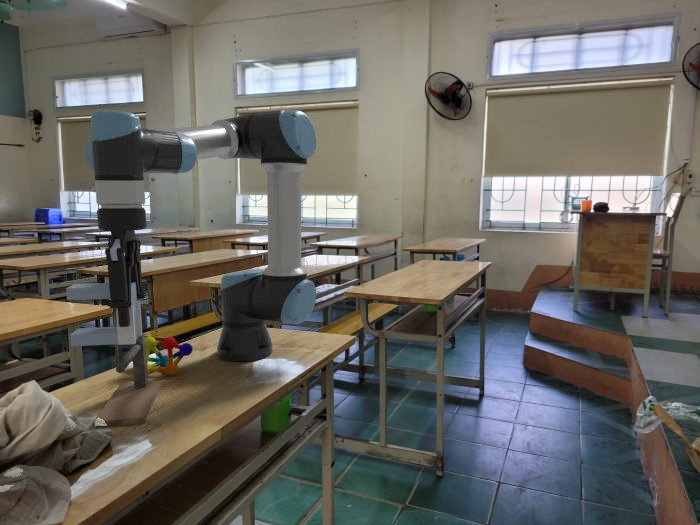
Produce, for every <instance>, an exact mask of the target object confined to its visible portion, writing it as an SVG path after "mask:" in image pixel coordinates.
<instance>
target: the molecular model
mask: <svg viewBox="0 0 700 525" xmlns="http://www.w3.org/2000/svg"><path fill="white" fill-rule="evenodd" d="M145 343H146V358H147V373H148V375H150V374H151V372H164V373H165V374H166V375H167V376H175V375H176V374H177V373H178V372H179V366H178V365H179V363H180V362H181V361H182V359H183V358H184V357H187V356H190V355H191V354H192V353H193V349H194V348H193V345H192V344H190V343H188V342H186V343H183V344H178V343H177V339H176V338H175V337H173V336H168V337H165V338H164V339H163V340H156V339H155V337H154V336H145ZM156 346H162V347H163V349H165V350H167V354H162V352H161V351H160V350H159V349H158V348H157V347H156ZM174 349H178V350H179V351H177V352H175V353H173V350H174ZM151 350H152V351H153V353H154V354H155V355H156V356H157V357H151V356H150V353H151ZM174 359H175V360H174ZM149 363H151V364H149Z"/></svg>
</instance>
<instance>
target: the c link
mask: <svg viewBox="0 0 700 525" xmlns="http://www.w3.org/2000/svg"><path fill="white" fill-rule="evenodd" d="M65 289H66V290H65V291H66V292H65V293H66V300H67V301H81V300H83V301H84V300H85V301H87V300H88V301H89V300H111V299H110V288H109V282H103V283H102V282H100V283H99V282H97V283H96V282H95V283H93V282H92V283H74V284H72V285H70V286H68V287H66V288H65ZM131 302H132V305H131V306H134V319H135V334H136V340H137V338H138V337H139V328H138V312H137V295H136V282H131ZM69 339H70V340H69V341H70V347H85V346H86V347H87V346H104V345H105V346H106V345H118V335H117V326H103V327H83V328H82V327H79V328H76V330H74V331H73V332H71V334H69Z"/></svg>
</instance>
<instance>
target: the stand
mask: <svg viewBox="0 0 700 525" xmlns="http://www.w3.org/2000/svg"><path fill="white" fill-rule="evenodd" d="M145 338H146V333H143V332H142V336H139V337H138V338H137V340H136V343H135V344H130V345H131V348H130V349H129V351H128V352H127V353H126V355H124V357H123V358H122V359H121V361H120V362H119V363H118V365H116V367H115V371H116V372H117V373H118V374H122V373H124V372H125V371H126V369H127V368H128V366H129V365H130V364H131V363H132V371H133V372H132V373H133V382H120V384H119V386H118V387H117V388H116V389H115V391H114V393H113V394H112V395H111V397H110V399H108V401H107V403H106V404H105V405H104V407H103V408H102V410H101V411H100V412H99V414H98V415H97V417H99V418H101V419H103V420H104V421H105V423H106V424H107V425H108V426H107V427H114V426H115V427H116V426H127V425H137V424H145V422H146V419H147V418H148V416H149V414H150V411H151V410H152V407H153V405H154V404H155V401H156V400H157V397H158V395H159V393H160V391H161V389H162V387H163V380H152V381H151V380H150V381H149V378H148V376H149V374H148V373H147V358H146V343H145Z"/></svg>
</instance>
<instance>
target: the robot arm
mask: <svg viewBox="0 0 700 525" xmlns="http://www.w3.org/2000/svg"><path fill="white" fill-rule="evenodd" d="M316 149H317V135H316V131H315V127H314V125H313V123H312V121H311V119H310V118H309V117H308V115H307V114H306V113H304V112H303V111H301V110H299V109H283V110H273V111H264V112H263V111H262V112H253V113H246V114H242V115H239V116H234V117H230V118H226V119H218V120H214V121H213V122H212V123H211V124H210V125H198V126H189V127H179V128H167V129H158V130H156V129H147V128H143V127H142V125H141V120H140V117H139V116H138V115H137V114H136V113H133V112H129V111H122V110H120V111H119V110H99V111H95V112H94V113H93V114H92V115H91V117H90V138H89V140H88V141H87V142H86V145H85V147H84V156H85V157H84V158H85V161H86V162H87V164H88V166H89V167H90V168H91V169H92V170H93V176H94V185H95V186H92V189H91V190H92V192H93V193H95V199H96V200H95V201H96V204H97V205H99V206H100V208H97V210H96V214H97V216H96V217H97V228H98V229H99V230H100V231H104V232H110V241H109V242H108V247H105V249H104V254H105V258H106V262H107V263H106V264H107V265H106V266H107V275H108V283H109V288H110V299H109V300H110V304H109V309H115V317H116V318H115V319H116V327H117V335H118V344H117V345H118V346H120V345H121V346H124V345H131V344H135V343H136V334H135V319H134V306H131V305H132V302H131V282H136V295H137V312H138V328H139V336H142V334H143V324H142V323H143V322H142V321H143V320H142V310H141V309H142V308H141V307H142V306H141V300H145V295H146V294H145V293H143V280H142V276H143V275H142V262H141V245H142V242H141V239H140V240H139V239H137V238H136V232H135V231H140V230H141V231H143V230H145V229H146V228H147V215H146V214H147V213H146V209H145V208H144V207H143V206H142V205H145V204H146V193H145V191H146V190H145V179H144V178H145V177H144V174H163V173H164V174H165V173H166V174H173V175H175V174H176V175H177V174H185V173H188V172H190V171H191V170H192V169H193V168H194V167H195V165H196V163H197V161H201V160H206V159H212V158H219V159H222V160H228V159H229V160H230V159H251V160H260V166H261V167H262V168H263V169H264V171H265V172H266V185H267V187H266V190H267V192H266V193H267V196H266V198H267V199H266V200H267V201H266V202H267V206H266V207H267V266H266V268H265V269H264V270H263V269H259V268H257V269H247V270H240V271H239V270H238V271H234V272H230V273H225V274H224V275H223V276H222V277H221V281H220V299H221V301H220V302H221V303H220V304H221V317H222V329H221V332H220V336H219V339H218V343H217V346H216V353H217V354H216V355H217V357H218V358H220V359H221V360H224V361H229V362H250V361H251V362H252V361H256V360H260V359H264V358H266V357H269V356H270V355H271V354H272V353H273V341H272V338H271V336H270V333H269V331H268V328H267V324H266V321H267V322H268V321H269V322H274V323H275V322H277V323H282V324H285V325H287V324H290V325H293V324H294V325H298V324H302V323H304V322H305V321H306V320H307V319H308V318H309V317H310V315H311V313H312V312H313V310H314V307H315V304H316V299H317V289H316V286H315V283H314V282H313V281H312V280H310V279H308V271H307V270H306V268H305V267H303V266H302V172H303V171H304V170H305V168H306V167H308V159H309V158H310V157H313V155H314V154H315V151H316Z"/></svg>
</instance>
